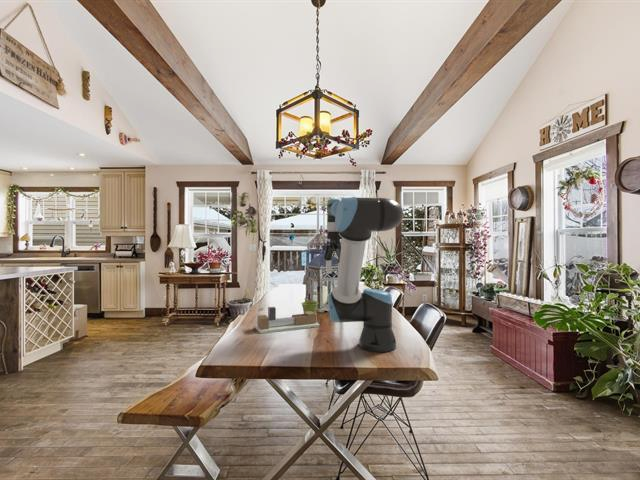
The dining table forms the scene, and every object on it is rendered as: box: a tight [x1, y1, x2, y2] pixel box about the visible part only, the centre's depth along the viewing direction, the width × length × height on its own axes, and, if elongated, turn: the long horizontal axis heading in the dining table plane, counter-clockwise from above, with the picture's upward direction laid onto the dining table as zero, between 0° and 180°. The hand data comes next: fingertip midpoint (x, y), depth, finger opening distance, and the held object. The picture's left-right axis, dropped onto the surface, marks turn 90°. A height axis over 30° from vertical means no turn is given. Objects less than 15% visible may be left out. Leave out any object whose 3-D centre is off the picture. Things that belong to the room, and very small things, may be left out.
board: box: [254, 311, 320, 335], centre depth 170 cm, size 12×30×6 cm, turn 114°
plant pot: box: [301, 301, 319, 315], centre depth 188 cm, size 9×9×9 cm
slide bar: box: [267, 306, 295, 327], centre depth 169 cm, size 3×17×9 cm, turn 114°
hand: (334, 274), depth 166 cm, fingers open, 13 cm apart
